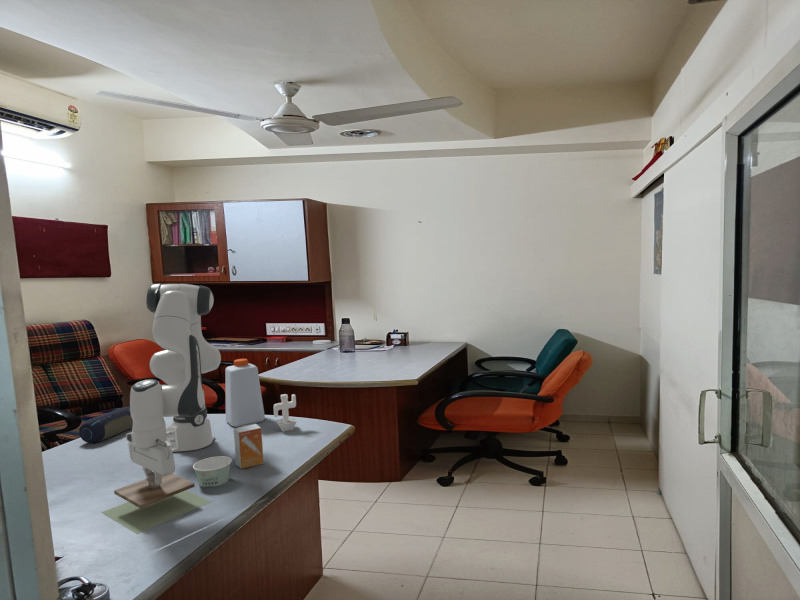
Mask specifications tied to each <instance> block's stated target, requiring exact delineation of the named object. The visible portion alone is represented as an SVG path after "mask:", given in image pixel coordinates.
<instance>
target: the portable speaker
mask: <svg viewBox="0 0 800 600" xmlns="http://www.w3.org/2000/svg"><path fill="white" fill-rule="evenodd" d="M132 426H133V419H132V417H131V412H130V406H124V407H120V408H118V409H115V410H111V411H110V412H106V413H104V414H101V415H97V416H95V417H92V418H89V419H87V420H86V421H85V422H83V423H82V424H81V425H80V426H79V429H78V434H79V437H80V439H81V440H82V441H83V442H84V443H85V442H86V443H87V444H88V443H89V444H95V443H98V442H101V441H104V440H106V439H108V438H111V437H113V436H115V435H118V434H120V433H123V432H126V431H128V430H132Z"/></svg>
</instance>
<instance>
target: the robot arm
mask: <svg viewBox="0 0 800 600" xmlns="http://www.w3.org/2000/svg"><path fill="white" fill-rule="evenodd" d="M144 298H145V303H146V308H147V309H148V311H150V312H151V313H152V314H154V318H153V322H152V323H153V324H152V329H151V330H152V338H153V341H155V343H157V345H158V346H160V347H161V348H163V349H164V350H160V351H157V352H154V354H153V355H152V356H151V358H150V360H149V370H150V372H151V374H153V375H154V377H155V378H158V379H159V380H161V381H163V382H164V383H165V384H160V382H159V380H157V379H152V378H151V379H144V380H140V381H138V382H136V383H134V384H133V385H132V386H131V387H130V388H131V389H130V392H129V407H130V412H131V417H132V419H133V426H132V428H131V430H132V431H130V432H128V433H126V434H125V437H126V441H128V444H127V445H128V452H129V453H128V454H129V458H130V460H131V463H134V464H136V465H139V466H141V467H142V470H143V472H144V475H145V479H146V480H147V481H148V474H149V473H151V472H154V474H155V479H153V481H154V484H155V485H157V486H158V485H160V484H162V476H166V475H169V474H171V473H172V474H174V473H175V472H176V471H175V470H176V464H175V456H174V453H177V452H188V451H189V452H190V451H195V450H199V449H203V448H206V447H208V446H210V445H211V444H212V443H213V441H214V440H215V439H216V436H215V435H213V431H212V425H211V424H212V423H211V420H210V419H209V418H207V417H208V409H207V407H206V403H205V402H206V400H205V391H204V387H203V386H204V385H203V379H202V376H203V375H202V374H206V373H208V372H212V371H215V370H217V369H218V368H219V366H220V364H221V361H222V357H221V356H222V355H221V352H220V350H219V349H218V348H217V347H216V346H215V345H212V344H211V343H209V342H208V341H207V340H206V339H205V337H204V336H203V332H202V331H203V330H202V318H201V317H202V316H204V315H207V314H209V313H210V312H211V309H212V308H213V305H214V303H215V302H214V301H215V300H214V299H215V298H214V294H213V292H212V290H211V288H209V287H208V286H204V285H196V284H195V285H194V284H189V283H180V284H179V283H165V284H162V283H154V284H151V286H149V287H148V289H147V292H146V294H145V297H144ZM171 417H172V422H171V423H170V424H169V425H168V426H167V425H166V424H167V423H166V421H165V419H164V418H171Z"/></svg>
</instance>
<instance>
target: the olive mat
mask: <svg viewBox="0 0 800 600" xmlns="http://www.w3.org/2000/svg"><path fill="white" fill-rule="evenodd" d="M210 503H212V501H211V500H209V499H207V498H204V497H202V496H200V495H198V494H195V493H193V492H192V491H188V490H185V491H183V492H180V493H178V494H175V495H173V496H170V497H168V498H165V499H163V500H160V501H158V502H155V503H153V504H151V505H148V506H146V507H143V508H141V509H140V508H139V507H137V506H135V505H133V504H132V503H130V502H128V501H126V502H125V503H122V504H119V505H117V506H114V507H112V508H110V509H106V510H104V511H102V512H101V513H102V514H103V515H105V516H106V517H108V518H109V519H112V520H113V521H114V522H116V523H118V524H120V525H121V526H122V527H124V528H126V529H127V530H130V531H131V532H133V533H134V534H136V535H139V534H140V533H143V532H144V531H147V530H149V529H150V530H151V529H152V528H154V527H157V526H160V525H161V524H163V523H167V522H169V521H170V520H172V519H175V518H177V517H181V516H182V515H185V514H187V513H189V512H191V511H193V510H196V509H198V508H200V507H203V506H205V505H207V504H208V505H209V504H210Z"/></svg>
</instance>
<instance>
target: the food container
mask: <svg viewBox="0 0 800 600" xmlns="http://www.w3.org/2000/svg"><path fill="white" fill-rule="evenodd" d="M232 463H233V459H232V458H231V457H230V456H227V455H226V456H224V455H222V456H220V455H219V456H211V457H210V456H209V457H207V458H203V459H200V460H198V461H196V462H195V463H194V464H192V469H193V470H194V472H195V476H196V479H197V482H198V485H199V486H200V487H201V488H215V487H218V486H221V485H224V484H226V483H228V482H229V480H230V474H231V472H230V471H231V464H232Z"/></svg>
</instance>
